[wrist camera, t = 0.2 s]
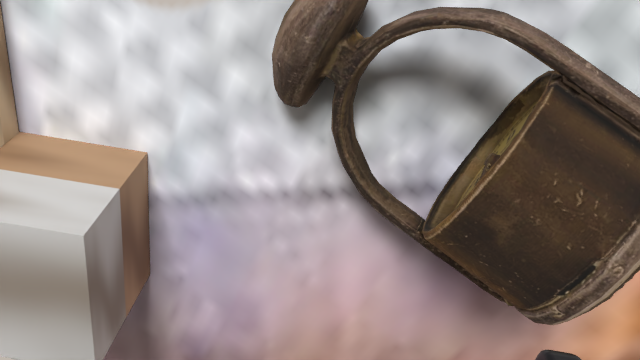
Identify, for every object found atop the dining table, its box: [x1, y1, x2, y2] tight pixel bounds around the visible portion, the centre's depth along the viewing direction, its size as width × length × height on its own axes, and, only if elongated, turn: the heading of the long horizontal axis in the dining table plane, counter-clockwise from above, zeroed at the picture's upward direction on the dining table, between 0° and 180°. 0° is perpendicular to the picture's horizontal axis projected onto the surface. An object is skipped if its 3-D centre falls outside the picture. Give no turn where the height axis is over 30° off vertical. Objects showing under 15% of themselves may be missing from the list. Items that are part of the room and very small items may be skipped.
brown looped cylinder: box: [272, 0, 640, 325], centre depth 18 cm, size 7×13×10 cm
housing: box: [0, 132, 150, 360], centre depth 22 cm, size 6×5×6 cm
